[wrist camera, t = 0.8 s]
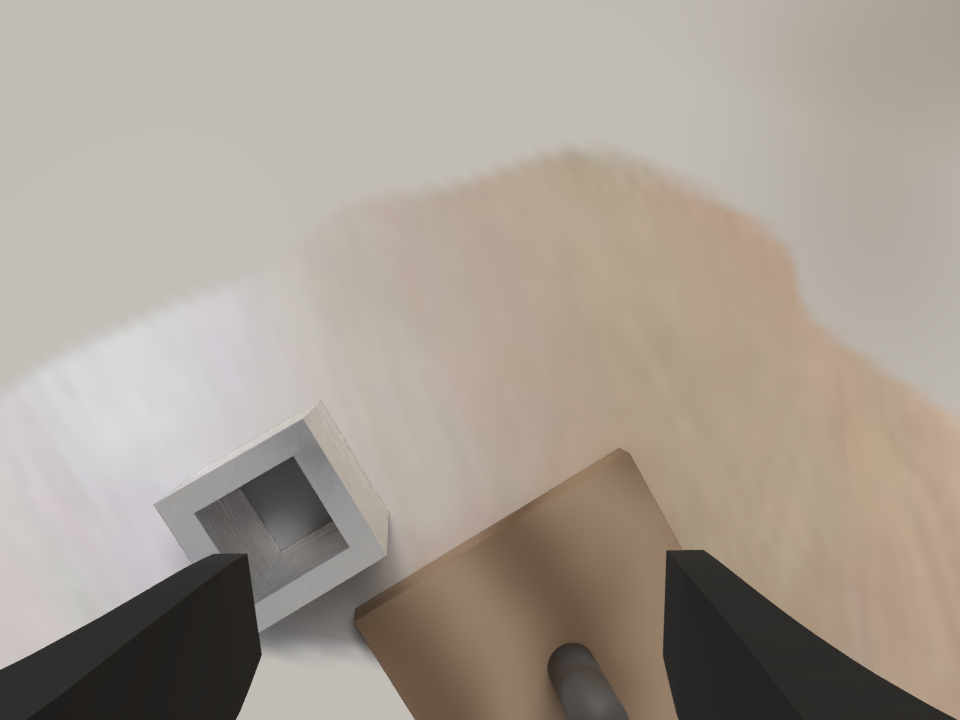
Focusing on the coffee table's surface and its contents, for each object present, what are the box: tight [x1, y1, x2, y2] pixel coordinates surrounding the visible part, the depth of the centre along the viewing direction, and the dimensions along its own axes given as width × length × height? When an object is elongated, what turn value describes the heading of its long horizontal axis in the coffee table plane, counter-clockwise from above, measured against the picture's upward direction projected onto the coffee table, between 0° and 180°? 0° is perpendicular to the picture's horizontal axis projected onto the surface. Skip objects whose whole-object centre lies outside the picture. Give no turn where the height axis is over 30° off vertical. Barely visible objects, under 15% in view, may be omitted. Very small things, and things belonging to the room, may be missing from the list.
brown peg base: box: [354, 448, 682, 720], centre depth 25 cm, size 13×13×5 cm
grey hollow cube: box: [153, 401, 389, 633], centre depth 23 cm, size 5×5×5 cm
